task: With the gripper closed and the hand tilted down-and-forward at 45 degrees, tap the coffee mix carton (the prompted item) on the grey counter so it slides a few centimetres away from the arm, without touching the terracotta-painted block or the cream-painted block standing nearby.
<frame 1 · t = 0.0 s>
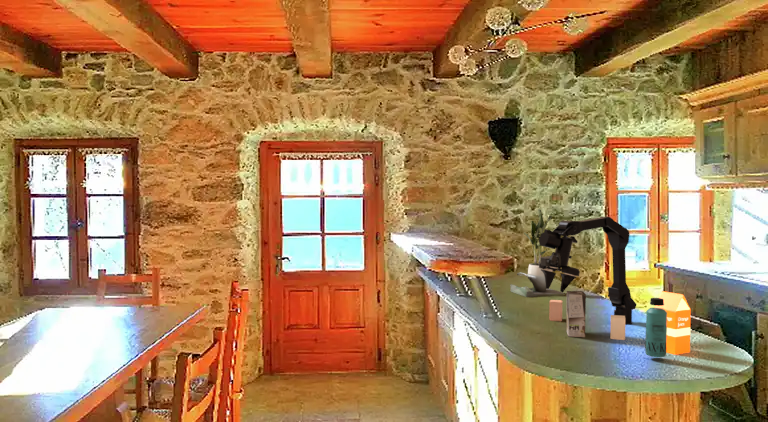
hand: (554, 290, 252), 15 cm above the kitchen counter, tool pointing down, fingers open, 9 cm apart
terracotta block: (555, 319, 271), on the kitchen counter
beverage bottle: (655, 359, 208), on the kitchen counter
cream block: (617, 338, 238), on the kitchen counter
potted plant: (537, 293, 340), on the kitchen counter
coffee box: (575, 334, 244), on the kitchen counter
orange juice: (671, 351, 219), on the kitchen counter
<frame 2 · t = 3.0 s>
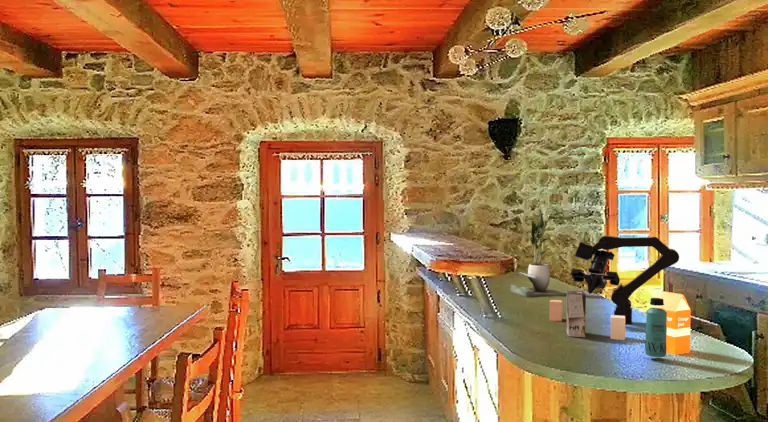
hand: (589, 293, 258), 13 cm above the kitchen counter, tool tilted 45°, fingers closed
nothing on the kitchen counter moved.
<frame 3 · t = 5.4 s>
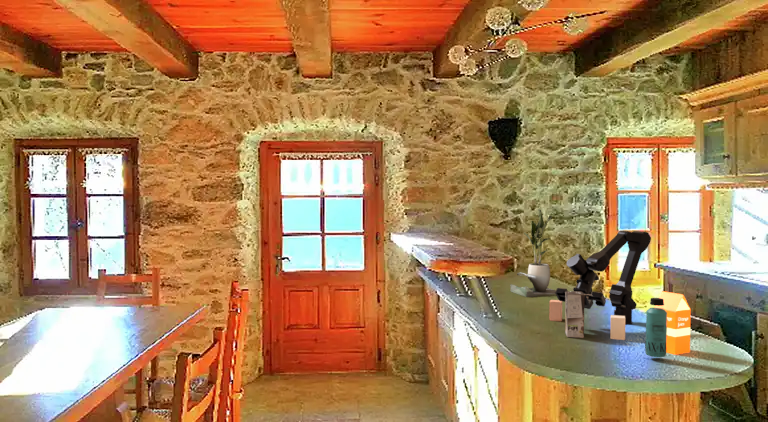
hand: (573, 314, 247), 7 cm above the kitchen counter, tool tilted 45°, fingers closed
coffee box: (574, 335, 242), on the kitchen counter, touching gripper
everything else where it was.
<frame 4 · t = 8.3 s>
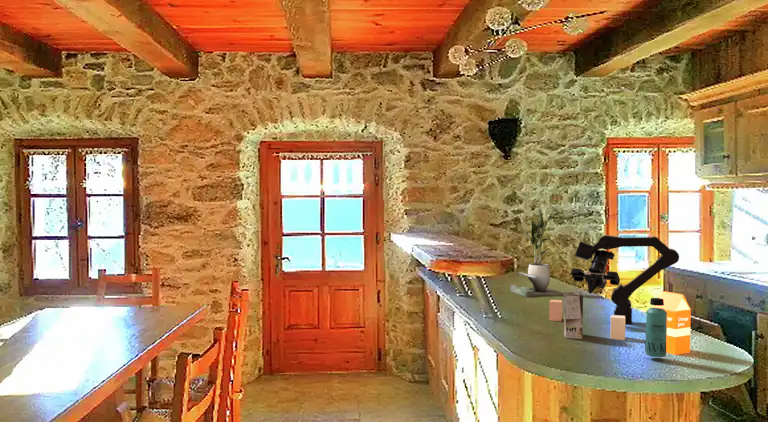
hand: (589, 292, 258), 14 cm above the kitchen counter, tool tilted 45°, fingers closed
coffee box: (573, 336, 241), on the kitchen counter
everything else where it was.
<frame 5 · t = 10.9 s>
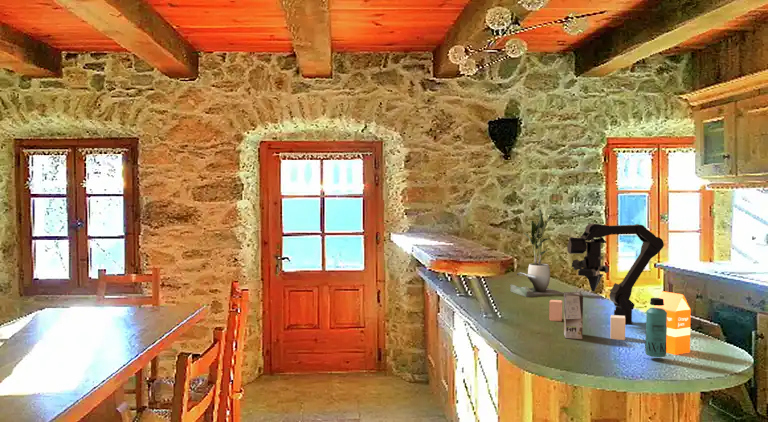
hand: (593, 291, 265), 13 cm above the kitchen counter, tool pointing down, fingers closed
nothing on the kitchen counter moved.
at the end: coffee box moved 3.3 cm from its start; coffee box tilted 0°; terracotta block moved 0.1 cm from its start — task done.
